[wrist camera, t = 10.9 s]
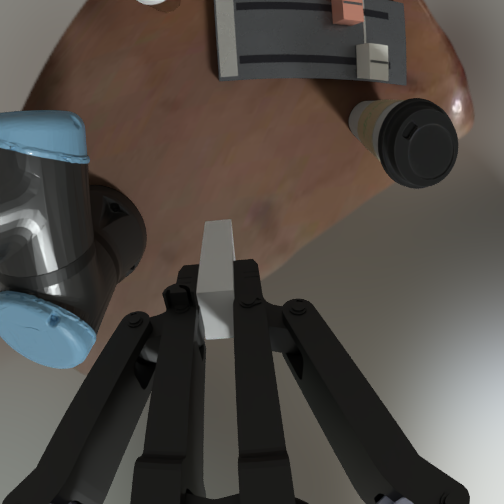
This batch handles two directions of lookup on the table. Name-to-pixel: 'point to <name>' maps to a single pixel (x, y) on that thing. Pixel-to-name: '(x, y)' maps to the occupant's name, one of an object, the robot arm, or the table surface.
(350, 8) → the fader
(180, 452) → the robot arm
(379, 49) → the fader
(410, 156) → the coffee cup
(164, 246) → the table surface
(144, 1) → the milkshake
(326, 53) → the console
